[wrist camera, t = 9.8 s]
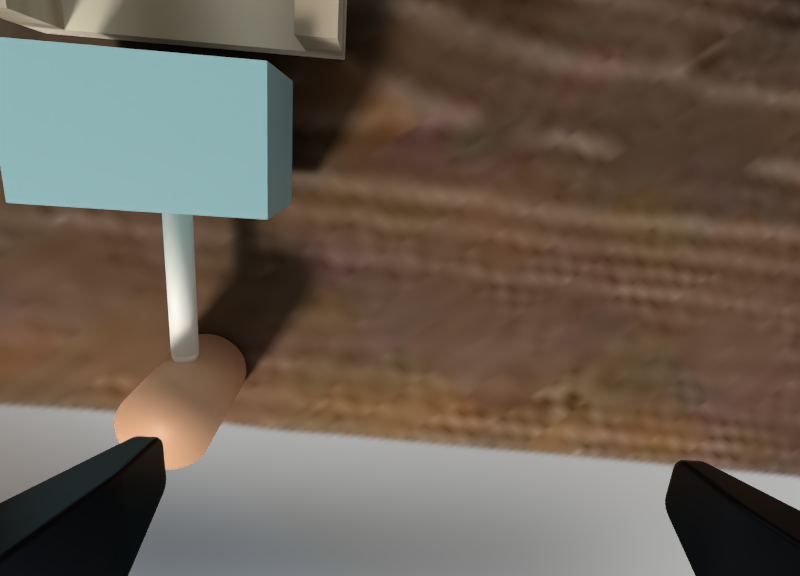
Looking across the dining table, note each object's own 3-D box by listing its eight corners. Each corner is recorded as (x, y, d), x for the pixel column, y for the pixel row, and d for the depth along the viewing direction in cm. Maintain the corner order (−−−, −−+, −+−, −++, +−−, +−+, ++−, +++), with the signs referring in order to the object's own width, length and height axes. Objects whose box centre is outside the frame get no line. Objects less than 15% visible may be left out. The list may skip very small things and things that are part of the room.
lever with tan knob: (296, 84, 17) (267, 60, 12) (292, 404, 20) (268, 481, 16) (93, 67, 16) (-20, 35, 12) (125, 397, 20) (48, 475, 15)
